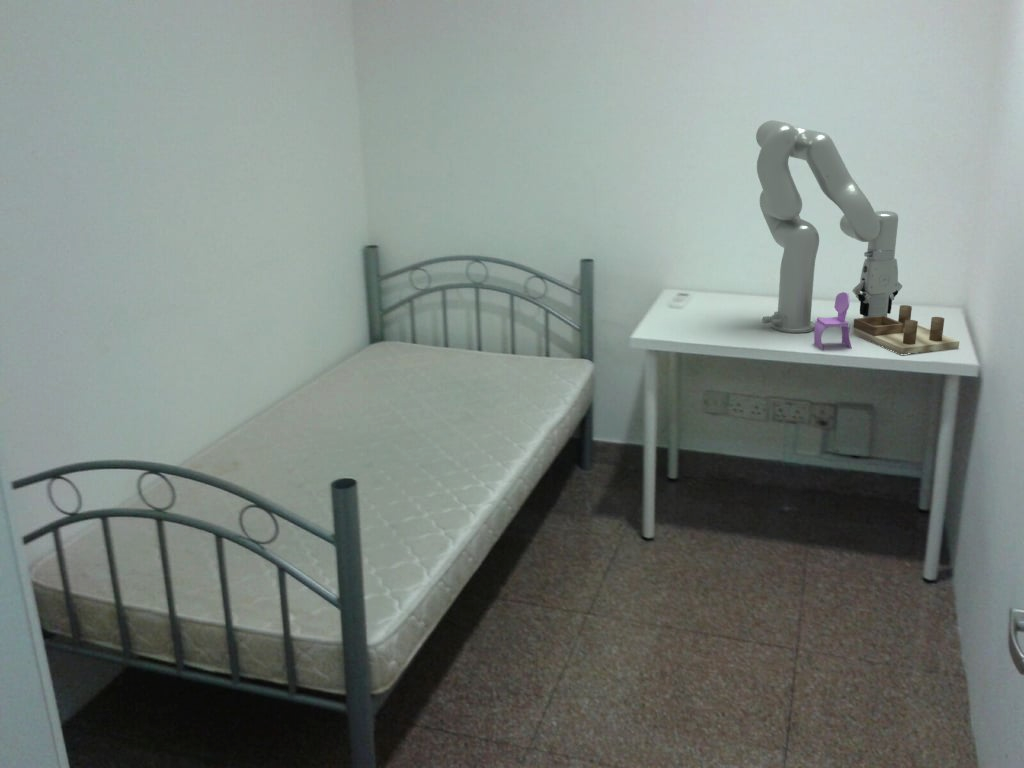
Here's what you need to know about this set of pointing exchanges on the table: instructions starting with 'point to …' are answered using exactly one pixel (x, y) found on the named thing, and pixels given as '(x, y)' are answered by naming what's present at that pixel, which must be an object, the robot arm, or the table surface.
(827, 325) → the toy chair
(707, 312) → the table surface
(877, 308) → the skincare box
